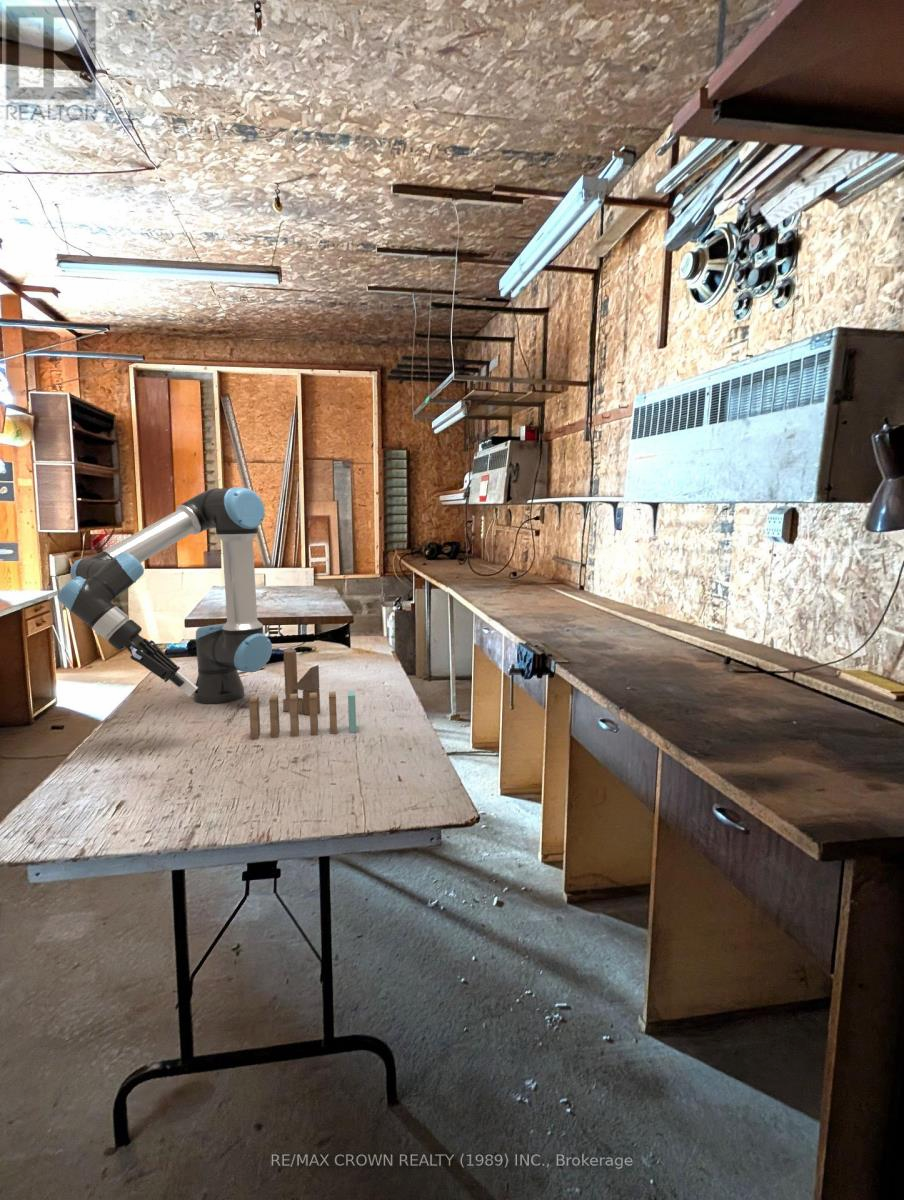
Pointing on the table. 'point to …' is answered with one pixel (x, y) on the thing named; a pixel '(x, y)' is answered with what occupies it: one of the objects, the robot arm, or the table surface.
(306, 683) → the wooden block
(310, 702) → the domino
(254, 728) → the domino
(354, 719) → the domino
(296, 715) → the domino
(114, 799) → the table surface
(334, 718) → the domino
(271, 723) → the domino
